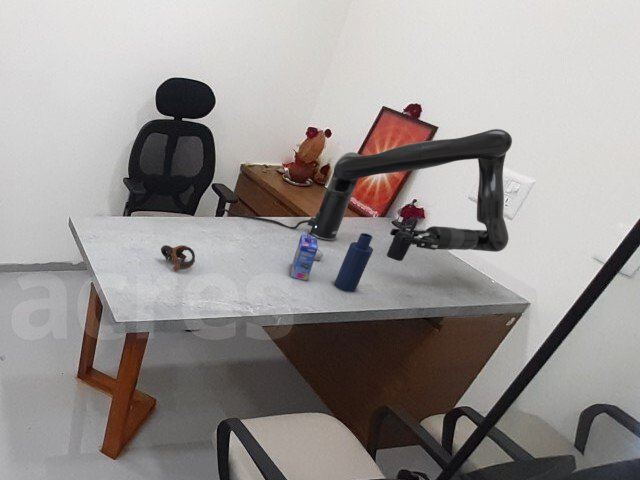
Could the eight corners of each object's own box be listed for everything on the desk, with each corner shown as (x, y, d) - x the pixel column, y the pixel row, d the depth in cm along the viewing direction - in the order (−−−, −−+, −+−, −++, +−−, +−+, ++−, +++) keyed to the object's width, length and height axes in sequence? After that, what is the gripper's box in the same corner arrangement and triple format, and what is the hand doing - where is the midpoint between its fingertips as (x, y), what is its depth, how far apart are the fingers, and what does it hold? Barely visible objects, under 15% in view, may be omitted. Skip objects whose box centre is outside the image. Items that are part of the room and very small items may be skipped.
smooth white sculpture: (321, 264, 188) (312, 261, 186) (308, 253, 195) (299, 250, 193) (328, 254, 186) (319, 250, 184) (315, 243, 193) (305, 240, 191)
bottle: (332, 286, 172) (353, 235, 162) (336, 279, 177) (357, 229, 167) (352, 294, 169) (375, 242, 159) (357, 286, 174) (379, 235, 164)
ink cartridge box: (290, 264, 183) (303, 227, 175) (306, 268, 182) (320, 230, 174) (290, 277, 175) (304, 238, 167) (307, 281, 174) (321, 242, 166)
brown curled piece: (192, 261, 179) (201, 249, 171) (183, 282, 174) (192, 270, 167) (161, 246, 179) (168, 233, 172) (151, 267, 175) (158, 254, 168)
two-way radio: (404, 259, 175) (423, 219, 166) (400, 264, 172) (420, 223, 163) (387, 253, 177) (405, 213, 169) (383, 257, 175) (401, 217, 166)
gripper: (435, 218, 176) (388, 216, 174) (464, 237, 164) (414, 235, 162) (425, 238, 180) (379, 236, 178) (452, 258, 168) (404, 256, 166)
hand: (396, 235), depth 170 cm, fingers closed on two-way radio, 5 cm apart
